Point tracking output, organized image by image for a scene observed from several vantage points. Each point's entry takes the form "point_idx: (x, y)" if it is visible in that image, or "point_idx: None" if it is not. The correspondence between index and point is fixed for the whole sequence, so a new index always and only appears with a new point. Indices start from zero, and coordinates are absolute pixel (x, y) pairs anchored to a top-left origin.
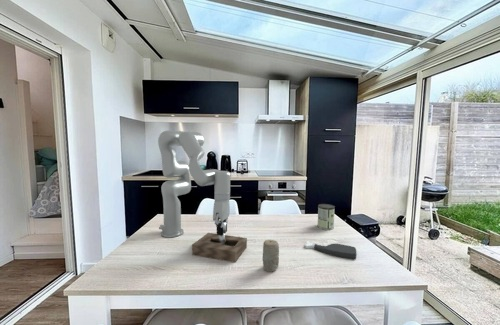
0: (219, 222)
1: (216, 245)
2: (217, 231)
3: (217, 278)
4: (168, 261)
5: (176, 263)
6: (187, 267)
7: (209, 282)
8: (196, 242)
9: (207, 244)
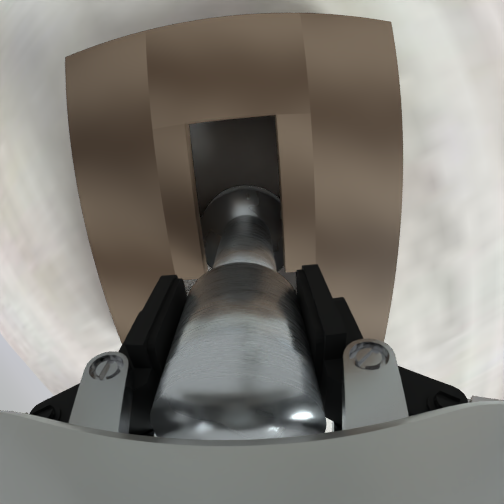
0: (202, 407)
1: (143, 259)
2: (134, 322)
3: (32, 329)
4: (14, 35)
5: (9, 83)
6: (5, 162)
7: (5, 313)
8: (111, 51)
9: (119, 171)
